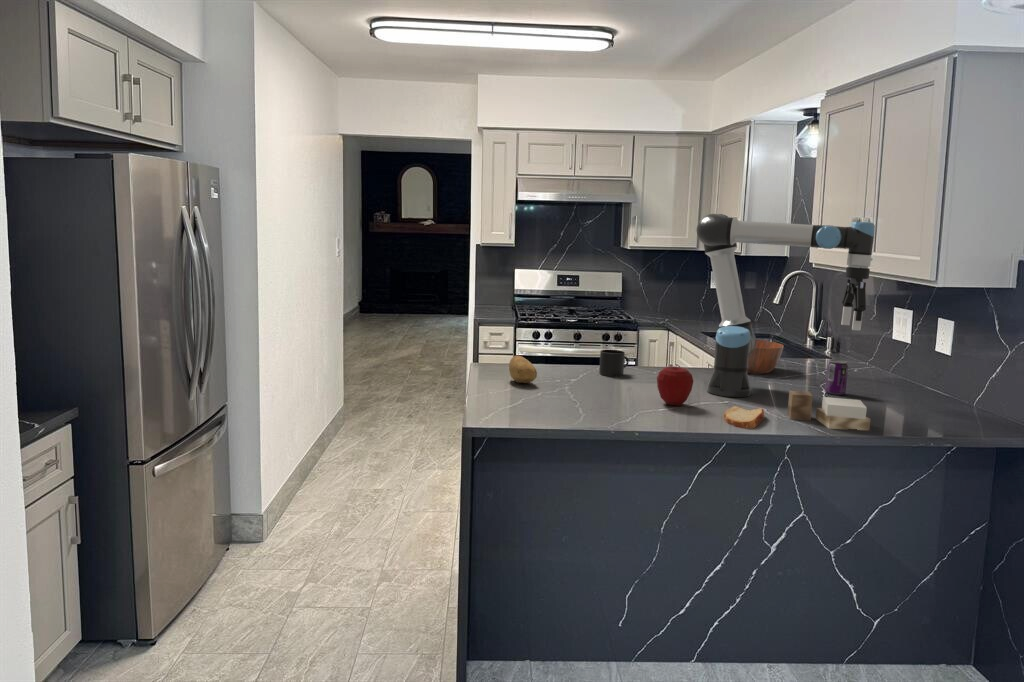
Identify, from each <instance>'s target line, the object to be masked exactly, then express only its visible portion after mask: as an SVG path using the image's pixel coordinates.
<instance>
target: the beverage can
mask: <svg viewBox="0 0 1024 682" xmlns="http://www.w3.org/2000/svg"><path fill="white" fill-rule="evenodd" d="M828 361H829V362H828V364H827V366H826V377H825V385H824V392H826V393H828V394H829V395H834V396H841V395H844V394H846V393H847V384H848V383H847V382H848V375H849V374H848V373H849V366H848V361H846V360H840V359H829V360H828Z"/></svg>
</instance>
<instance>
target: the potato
mask: <svg viewBox="0 0 1024 682" xmlns="http://www.w3.org/2000/svg"><path fill="white" fill-rule="evenodd" d="M508 368H509V369H508V371H509V374H510V375H509V376H510V378H512V379H513V380H514V382H516V383H517V384H529V383H532V382H533V381H535V380H536V378H538V377H537V374H538V372H537V368H536V367H535V366H534V365H533V363H532V362H531V361H529V359H526V358H525V357H523V356H521V355H513V356H512V358H511V359H510V361H509V363H508Z"/></svg>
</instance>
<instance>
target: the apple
mask: <svg viewBox="0 0 1024 682" xmlns="http://www.w3.org/2000/svg"><path fill="white" fill-rule="evenodd" d="M656 383H657V391H658V392H659V393H658V394H659V396H660V399H662V400H663V401H664V402H665V404H667V405H670V406H678V407H679V406H682V405H683V404H684V403H686V402H687V400H688V399H689V398H688V397H689V395H690V394H691V392H692V389H693V384H694V377H693V375H692V373H691V372H690V371H689V370H688V369H686V368H684V367H677V365H675V366H665V367H664V368H662V369H661V370H659V372H658V374H657V377H656Z"/></svg>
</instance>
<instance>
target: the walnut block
mask: <svg viewBox="0 0 1024 682" xmlns="http://www.w3.org/2000/svg"><path fill="white" fill-rule="evenodd" d="M787 404H788V405H787V414H786V415H787V416H788V418H789V419H790V420H795V419H802V420H801V421H808V420H810V421H811V417H812V409H813V408H812V407H813V395H812V393H811V392H810V391H803V390H789V393H788V403H787Z"/></svg>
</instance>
